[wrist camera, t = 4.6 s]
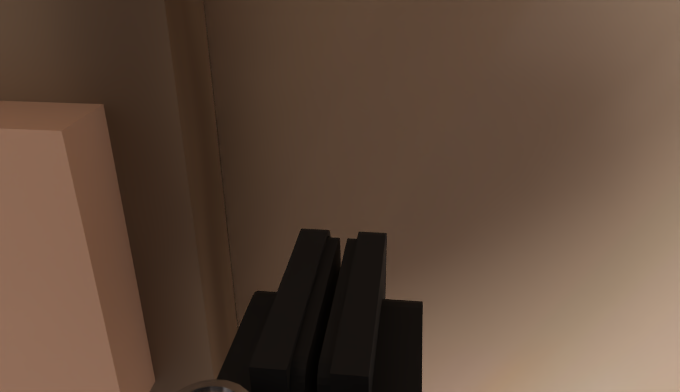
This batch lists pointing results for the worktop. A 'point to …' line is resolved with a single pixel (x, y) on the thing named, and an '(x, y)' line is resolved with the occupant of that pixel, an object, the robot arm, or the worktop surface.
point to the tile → (65, 257)
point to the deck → (144, 154)
